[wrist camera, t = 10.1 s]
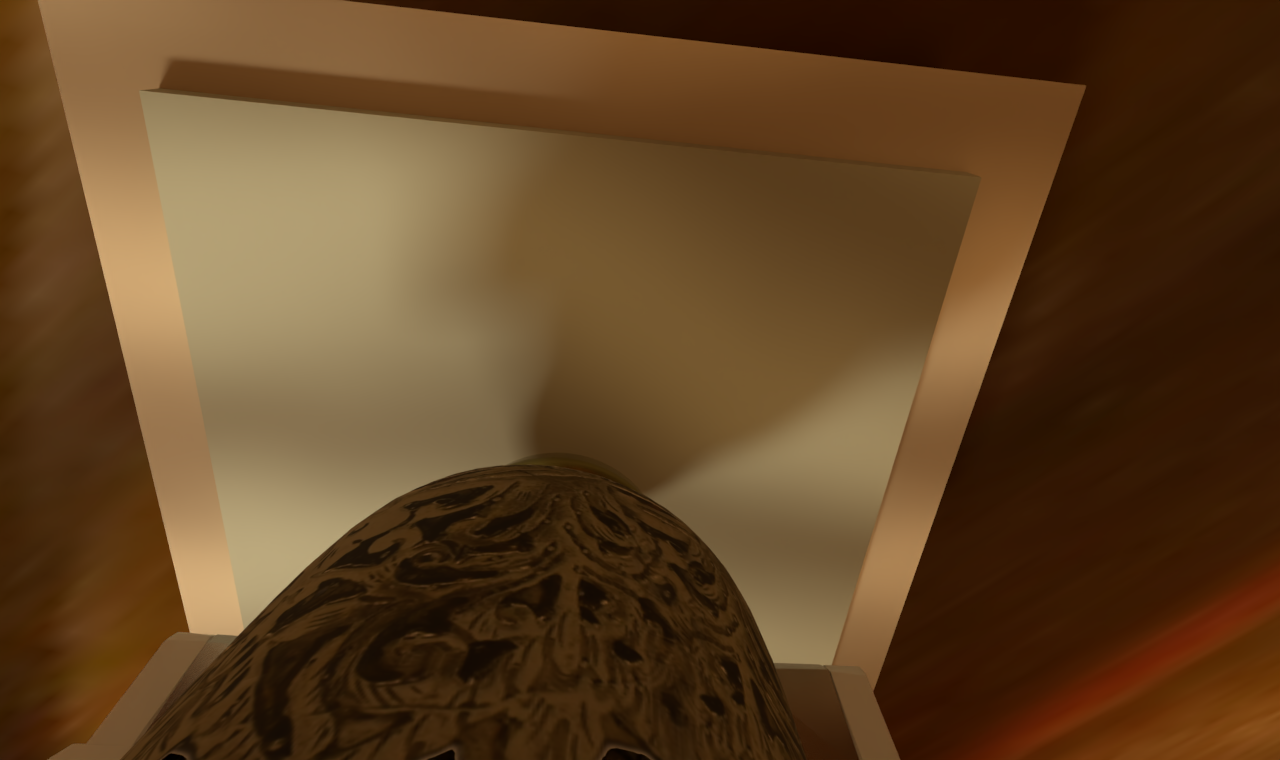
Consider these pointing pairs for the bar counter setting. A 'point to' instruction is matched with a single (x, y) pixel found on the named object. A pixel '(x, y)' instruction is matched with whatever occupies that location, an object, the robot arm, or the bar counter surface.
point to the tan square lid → (548, 281)
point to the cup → (497, 637)
